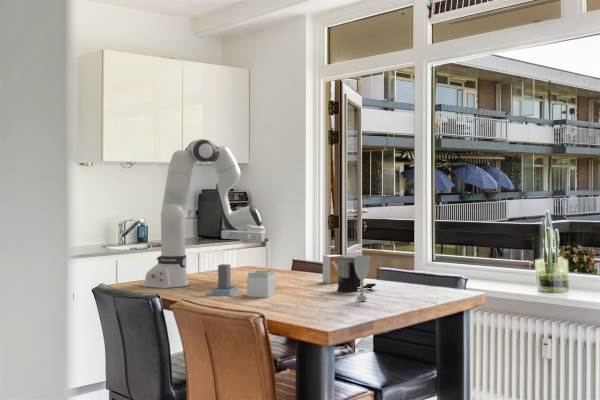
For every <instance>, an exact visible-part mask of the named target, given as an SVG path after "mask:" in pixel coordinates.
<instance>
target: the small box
mask: <svg viewBox="0 0 600 400" xmlns="http://www.w3.org/2000/svg"><path fill="white" fill-rule="evenodd" d="M338 257H344V255H341V254H327V255H322V283H325V282H327V283H326V284H335V283H334V282H338V259H337V258H338Z"/></svg>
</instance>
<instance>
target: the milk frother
mask: <svg viewBox="0 0 600 400" xmlns="http://www.w3.org/2000/svg"><path fill="white" fill-rule="evenodd" d="M337 259H338V283H337V291H338V292H341V291H342V292H343V293H344V292H345V293H351V292H352V291H354V292H357V290H360V288H361V285H360V284H361V279H359V278H358V276H357V274H356V271H355V259H354V256H343V257H338V258H337ZM376 286H377V284H376V283H374V282H373V283H366V284H364V285H363V288H364V289H368V288H371V289H372V288H374V287H376Z"/></svg>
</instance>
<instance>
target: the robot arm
mask: <svg viewBox="0 0 600 400" xmlns="http://www.w3.org/2000/svg"><path fill="white" fill-rule="evenodd" d="M196 163H199V164H203V163H210V164H211V165H212V166H213V167H214V170H215V173H216V175H217V182H216V185H215V190H216V191H215V192H216V195H217V199H218V203H219V208H220V212H221V215H222V222H223V226H224V228H225V230H222V231H221V233H220V235H221V237H220V238H221V239H225V240H226V239H227V240H228V239H229V240H239V241H240V242H241V243H242V244H245V245H246V244H247V245H248V244H254V243H263V242H264V243H265V239H266V238H265V237H266V228H265V226H264V225H263V217H262V213H261V211H260V210H259V209H258V208H257V207H256V206H254V205H253V204H252V205H246V206H245V207H242V208H240V209H237V210H233V211H232V208H231V205H230V200H229V196H228V194H229V192H230V190H231V189H232V188H233V187H234V186H235V185H236V184H238V182H239V181H240V179H241V176H242V173H241V169H240V166H239V164H238V162H237V159H236V158H235V156H234V154H233V152H232V151H231V149H230V148H229V147H228V146H226V145H219V146H217V145H215V143H213V142H212V141H210V140H208V139H199V138H198V139H196V140H193V141H192V142H190V143H189V144H188V146H187V147H186V148H185V149H184V150H183V149H180V150H178V149H177V150H175V151H174V152H173V154H172V156H171V158H170V162H169V164H168V171H167V176H166V182H165V188H164V194H163V200H162V208H161V211H160V238H161V240H160V245H161V247H160V249H161V251H160V252H161V254H160V255H159V256H157V257H156V261H157V263H156V264H155V265H154V266H153V267H152V268H151V269H149V270H148V271H147V272H146V274H145V277H144V278H145V281H143V282H141V283H140V284H139V285H140V286H139V287H148V288H149V287H150V288H159V289H169V288H181V287H186V286H189V285H190V283H189V281H188V280H189V279H188V276H187V275H188V273H187V255H186V209H187V203H188V199H189V197H188V196H189V193H190V188H191V187H190V186H191V181H192V180H191V179H192V175H193V169H194V167H195V165H196Z"/></svg>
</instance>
